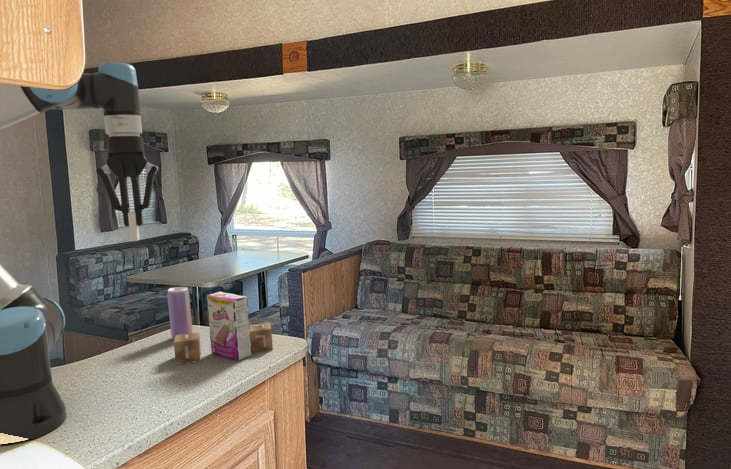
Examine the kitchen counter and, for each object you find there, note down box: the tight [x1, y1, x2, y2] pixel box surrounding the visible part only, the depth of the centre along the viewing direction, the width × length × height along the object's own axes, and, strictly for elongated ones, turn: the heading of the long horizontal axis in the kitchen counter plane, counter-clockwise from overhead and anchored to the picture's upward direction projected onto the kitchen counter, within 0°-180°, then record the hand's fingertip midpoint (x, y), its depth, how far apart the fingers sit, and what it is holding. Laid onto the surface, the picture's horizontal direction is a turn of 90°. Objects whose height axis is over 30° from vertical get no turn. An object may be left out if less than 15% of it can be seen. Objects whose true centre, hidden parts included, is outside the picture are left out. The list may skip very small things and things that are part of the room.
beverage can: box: [166, 286, 193, 341], centre depth 160 cm, size 6×6×15 cm
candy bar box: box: [206, 291, 253, 362], centre depth 145 cm, size 11×5×16 cm, turn 54°
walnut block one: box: [173, 332, 202, 365], centre depth 144 cm, size 6×6×6 cm
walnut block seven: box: [249, 322, 274, 353], centre depth 150 cm, size 6×6×6 cm
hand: (135, 240), depth 125 cm, fingers closed
